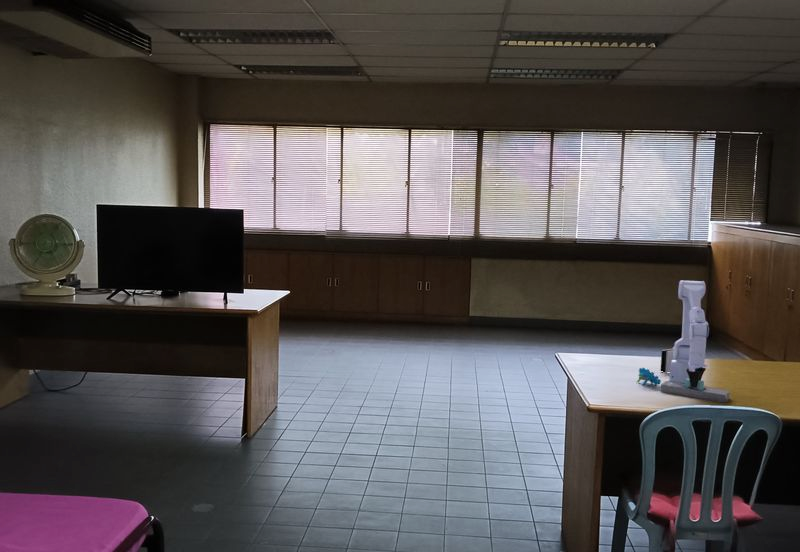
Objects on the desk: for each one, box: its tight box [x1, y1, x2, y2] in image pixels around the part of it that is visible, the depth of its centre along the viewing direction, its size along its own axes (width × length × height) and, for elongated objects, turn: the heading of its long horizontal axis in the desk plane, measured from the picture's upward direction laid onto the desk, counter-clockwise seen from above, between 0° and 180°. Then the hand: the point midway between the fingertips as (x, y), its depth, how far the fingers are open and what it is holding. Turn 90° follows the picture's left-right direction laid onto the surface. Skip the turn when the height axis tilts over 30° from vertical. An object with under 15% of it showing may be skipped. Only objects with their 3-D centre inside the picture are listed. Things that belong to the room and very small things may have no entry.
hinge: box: [660, 346, 675, 373], centre depth 315 cm, size 14×5×10 cm, turn 135°
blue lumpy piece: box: [636, 367, 662, 386], centre depth 287 cm, size 11×6×10 cm
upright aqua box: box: [684, 378, 705, 390], centre depth 273 cm, size 6×3×6 cm, turn 53°
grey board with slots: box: [660, 380, 731, 404], centre depth 273 cm, size 24×8×3 cm, turn 54°
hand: (695, 386), depth 272 cm, fingers open, 4 cm apart
